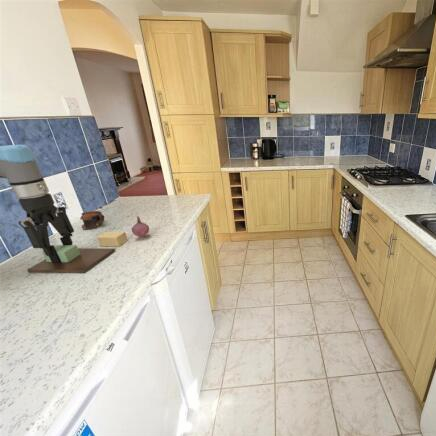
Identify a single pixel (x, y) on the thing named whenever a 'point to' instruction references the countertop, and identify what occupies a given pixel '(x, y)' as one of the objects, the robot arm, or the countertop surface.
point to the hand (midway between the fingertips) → (64, 257)
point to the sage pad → (65, 252)
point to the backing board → (74, 262)
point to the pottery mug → (92, 219)
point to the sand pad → (112, 239)
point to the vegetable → (140, 228)
